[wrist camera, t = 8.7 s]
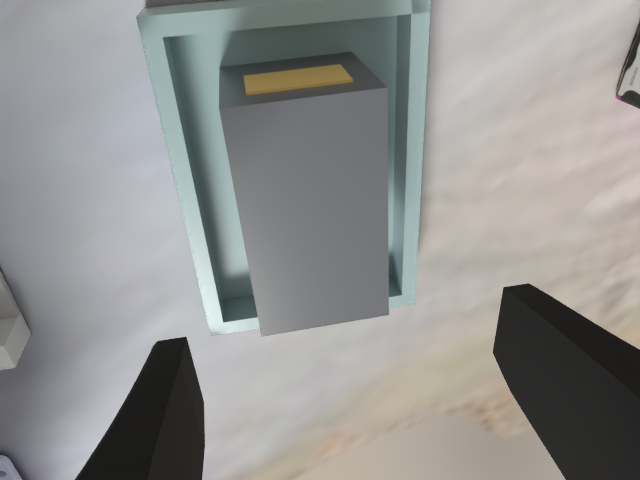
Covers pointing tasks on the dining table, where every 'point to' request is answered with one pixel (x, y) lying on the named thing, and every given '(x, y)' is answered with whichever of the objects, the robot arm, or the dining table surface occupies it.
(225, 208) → the tray
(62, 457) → the dining table surface
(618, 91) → the candy bar box
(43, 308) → the dining table surface
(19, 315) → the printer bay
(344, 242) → the grey rectangular block
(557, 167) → the dining table surface
